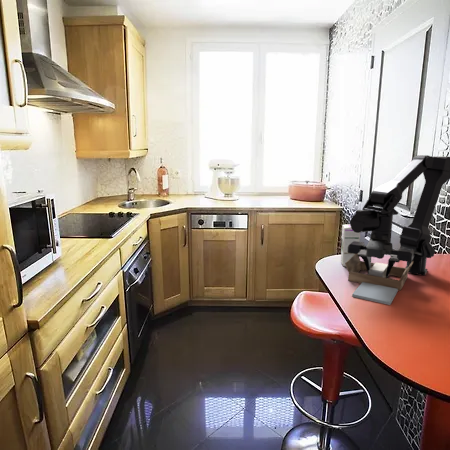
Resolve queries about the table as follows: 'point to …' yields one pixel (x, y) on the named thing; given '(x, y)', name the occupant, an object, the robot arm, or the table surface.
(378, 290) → the mat
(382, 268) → the cream box
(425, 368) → the table surface
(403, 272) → the carton
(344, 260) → the syrup box
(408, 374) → the table surface
